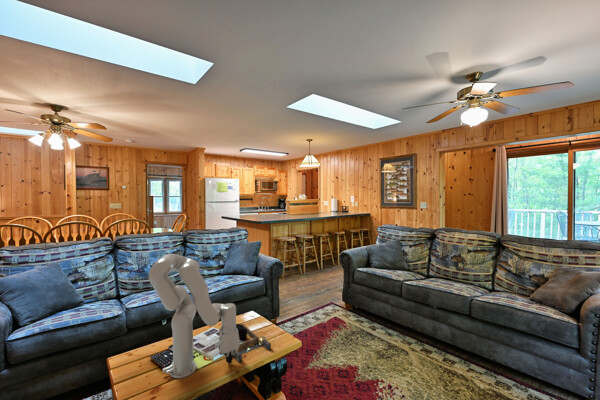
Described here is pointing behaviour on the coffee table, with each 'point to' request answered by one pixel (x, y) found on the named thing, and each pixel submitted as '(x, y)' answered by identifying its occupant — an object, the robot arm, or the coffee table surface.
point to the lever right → (264, 342)
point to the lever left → (237, 355)
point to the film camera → (242, 332)
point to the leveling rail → (249, 349)
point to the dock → (249, 342)
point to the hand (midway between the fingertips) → (229, 362)
